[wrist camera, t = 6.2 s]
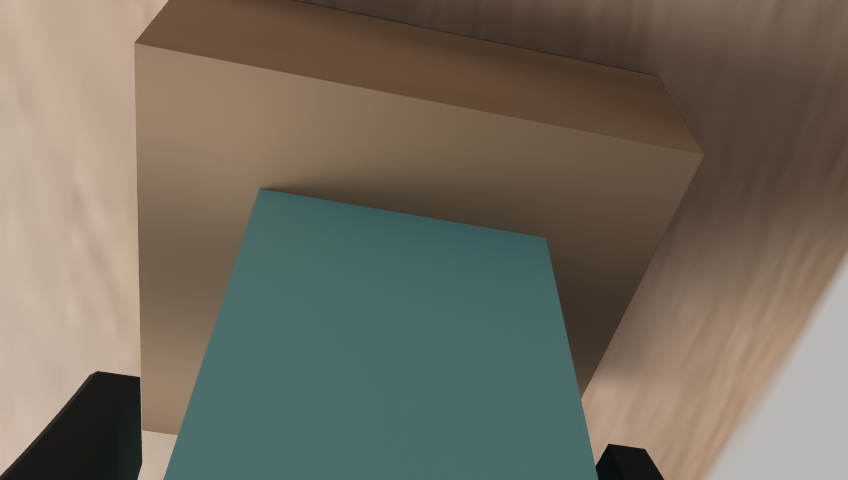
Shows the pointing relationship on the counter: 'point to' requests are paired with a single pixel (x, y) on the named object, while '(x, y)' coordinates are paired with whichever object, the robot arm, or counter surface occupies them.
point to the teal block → (384, 355)
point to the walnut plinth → (385, 158)
